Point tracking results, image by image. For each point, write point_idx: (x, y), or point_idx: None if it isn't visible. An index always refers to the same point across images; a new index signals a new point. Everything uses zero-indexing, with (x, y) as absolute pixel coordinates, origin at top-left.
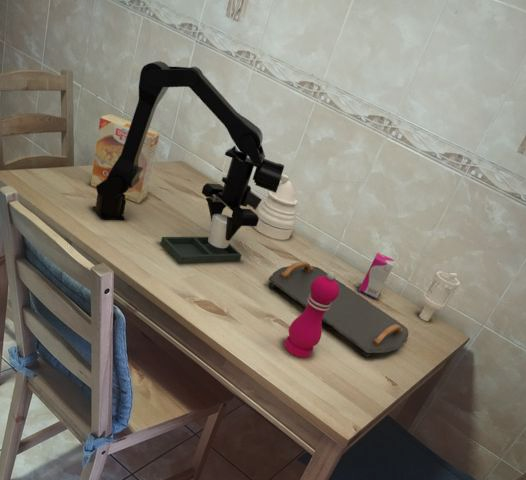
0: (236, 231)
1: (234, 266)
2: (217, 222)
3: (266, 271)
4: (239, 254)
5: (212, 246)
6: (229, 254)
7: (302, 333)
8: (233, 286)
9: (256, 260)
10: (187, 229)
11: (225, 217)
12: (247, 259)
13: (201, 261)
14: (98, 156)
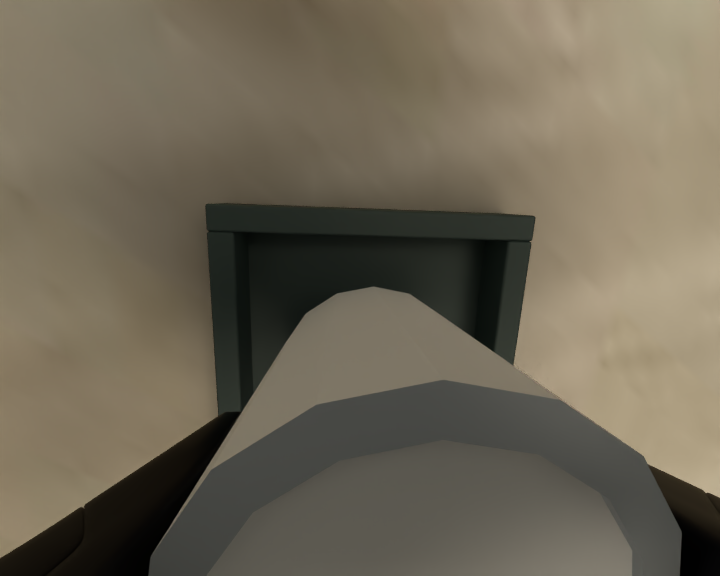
0: (701, 495)
1: (549, 302)
2: None
3: (682, 54)
4: (526, 236)
5: (292, 321)
6: (507, 336)
7: None
8: (714, 445)
9: (524, 17)
10: (16, 366)
11: (312, 563)
12: (492, 108)
13: None
14: None
